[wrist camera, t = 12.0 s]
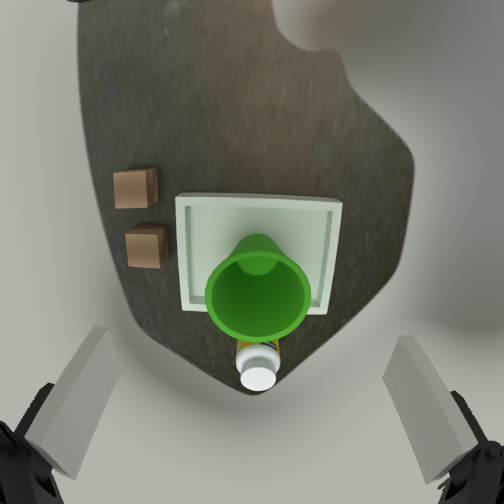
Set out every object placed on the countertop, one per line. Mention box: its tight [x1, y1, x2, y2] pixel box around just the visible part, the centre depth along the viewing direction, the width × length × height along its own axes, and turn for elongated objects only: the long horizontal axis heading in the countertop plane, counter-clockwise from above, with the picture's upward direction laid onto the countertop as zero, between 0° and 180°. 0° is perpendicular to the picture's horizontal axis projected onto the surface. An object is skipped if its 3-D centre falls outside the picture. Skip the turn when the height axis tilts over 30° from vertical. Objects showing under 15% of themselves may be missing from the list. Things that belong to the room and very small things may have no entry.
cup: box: [205, 234, 311, 342], centre depth 29 cm, size 9×9×11 cm
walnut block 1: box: [113, 168, 158, 208], centre depth 30 cm, size 4×4×4 cm
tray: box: [175, 193, 342, 314], centre depth 34 cm, size 14×18×3 cm
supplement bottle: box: [236, 339, 280, 391], centre depth 35 cm, size 5×5×10 cm
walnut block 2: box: [125, 224, 169, 268], centre depth 33 cm, size 4×4×4 cm
